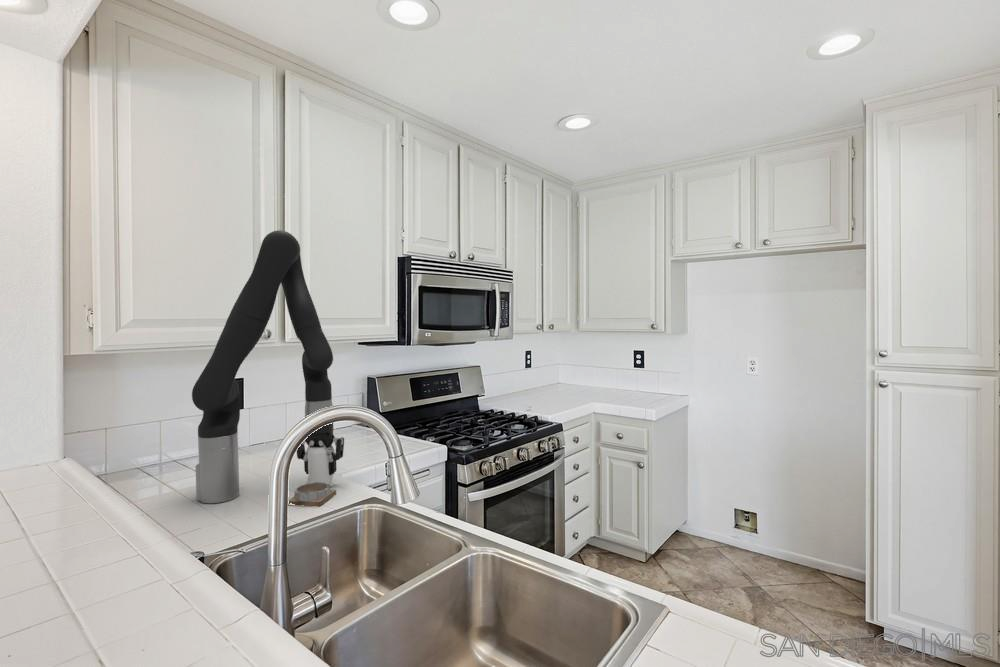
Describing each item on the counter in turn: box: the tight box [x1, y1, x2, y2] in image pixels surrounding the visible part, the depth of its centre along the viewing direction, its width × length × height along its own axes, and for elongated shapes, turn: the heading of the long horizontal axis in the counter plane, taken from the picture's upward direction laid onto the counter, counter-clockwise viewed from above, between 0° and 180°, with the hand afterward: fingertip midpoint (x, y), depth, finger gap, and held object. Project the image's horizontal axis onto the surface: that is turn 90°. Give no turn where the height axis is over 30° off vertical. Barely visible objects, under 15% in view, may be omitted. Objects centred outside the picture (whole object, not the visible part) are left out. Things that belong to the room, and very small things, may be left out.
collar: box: [294, 482, 331, 501], centre depth 129 cm, size 9×9×2 cm
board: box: [288, 489, 337, 508], centre depth 129 cm, size 9×9×1 cm
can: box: [307, 446, 334, 488], centre depth 139 cm, size 6×6×12 cm
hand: (320, 473), depth 139 cm, fingers closed on can, 6 cm apart
